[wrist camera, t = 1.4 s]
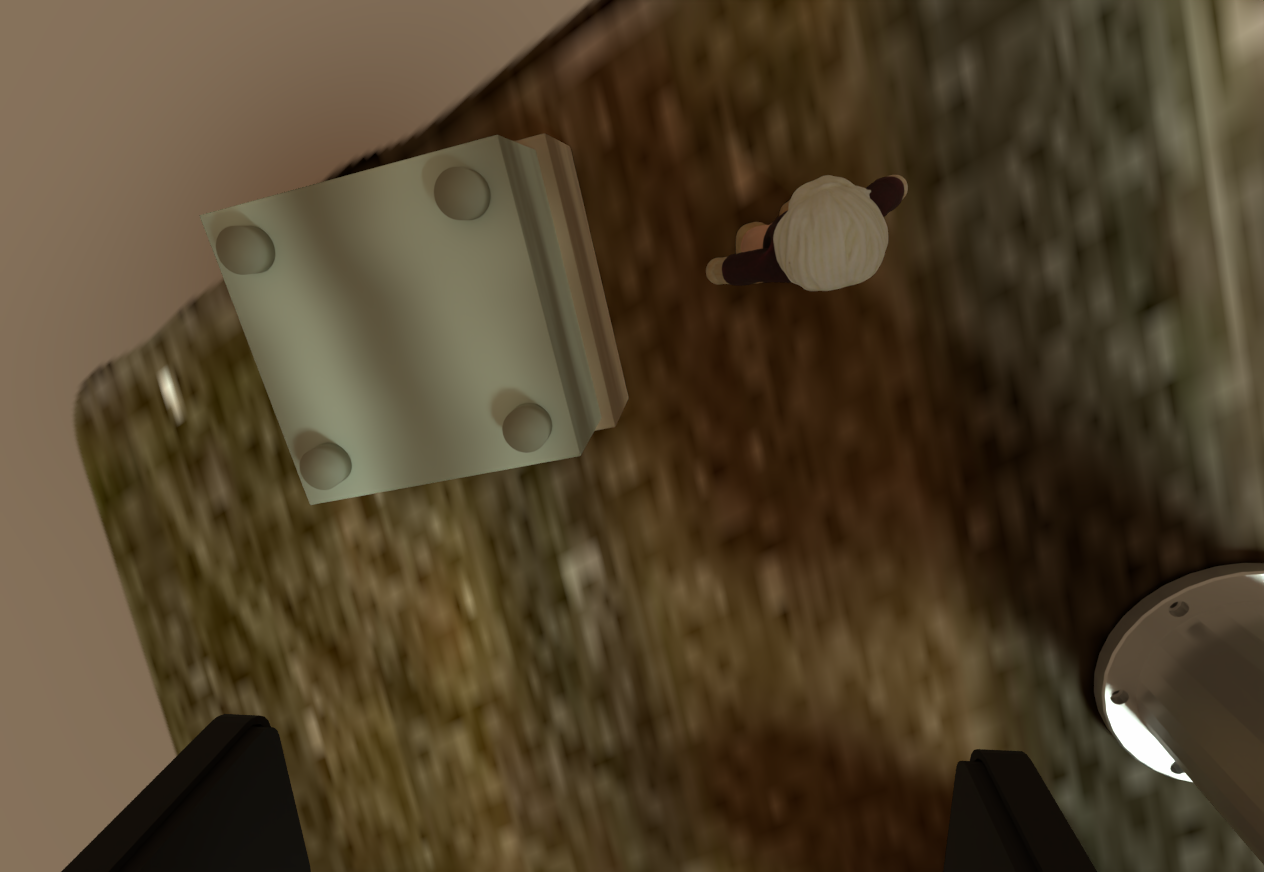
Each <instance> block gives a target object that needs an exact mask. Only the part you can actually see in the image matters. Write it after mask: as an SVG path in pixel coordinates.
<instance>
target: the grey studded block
mask: <svg viewBox="0 0 1264 872" xmlns="http://www.w3.org/2000/svg"><path fill="white" fill-rule="evenodd" d="M200 218H201V221H202V223H203V226H204V229H205V231H206V234H207V236H208V239H209V242H210V244H211V247H212V249H213V252H214V255H215V257H216V260H217V263H218V265H219V268H220V270H221V273H222V276H223V278H224V281H225V283H226V286H227V289H228V291H229V294H230V297H231V299H232V302H233V304H234V307H235V310H236V312H237V315H238V317H239V320H240V323H241V325H242V328H243V331H244V333H245V336H246V338H247V341H248V344H249V346H250V349H251V351H252V354H253V357H254V359H255V362H256V364H257V367H258V370H259V372H260V375H261V378H262V380H263V383H264V385H265V388H266V391H267V393H268V396H269V398H270V401H271V404H272V406H273V409H274V411H275V414H276V417H277V419H278V422H279V425H280V427H281V430H282V432H283V435H284V438H285V440H286V443H287V445H288V448H289V451H290V453H291V456H292V459H293V461H294V464H295V466H296V469H297V472H298V474H299V477H300V479H301V482H302V485H303V487H304V490H305V492H306V495H307V498H308V500H309V503H310V505H313V504H318V503H324V502H329V501H335V500H340V499H346V498H351V497H357V496H362V495H368V494H373V493H379V492H384V491H390V490H395V489H401V488H406V487H412V486H417V485H423V484H428V483H434V482H439V481H445V480H450V479H456V478H461V477H467V476H473V475H478V474H484V473H489V472H495V471H500V470H506V469H511V468H517V467H522V466H528V465H533V464H539V463H544V462H550V461H555V460H561V459H566V458H572V457H577V456H581V454H582V452H583V450H584V449H585V447H586V445H587V443H588V441H589V440H590V438H591V436H592V434H593V432H594V431H595V430H601V429H606V428H611V427H615V426H616V424H617V422H618V420H619V418H620V416H621V414H622V411H623V409H624V407H625V405H626V403H627V401H628V399H629V397H628V393H627V389H626V384H625V380H624V376H623V371H622V367H621V363H620V359H619V354H618V350H617V346H616V341H615V337H614V333H613V328H612V324H611V320H610V316H609V311H608V307H607V303H606V298H605V294H604V290H603V285H602V281H601V277H600V273H599V268H598V264H597V260H596V255H595V251H594V247H593V242H592V238H591V234H590V230H589V225H588V221H587V217H586V212H585V208H584V204H583V199H582V195H581V191H580V186H579V182H578V178H577V174H576V169H575V165H574V161H573V156H572V152H571V148H570V146H568V145H566V144H564V143H563V142H561V141H559V140H557V139H555V138H553V137H551V136H549V135H547V134H545V133H543V134H540V135H536V136H532V137H528V138H525V139H521V140H517V141H512V140H509V139H507V138H504V137H502V136H499V135H494V136H491V137H487V138H483V139H479V140H476V141H472V142H468V143H465V144H461V145H457V146H454V147H450V148H446V149H443V150H439V151H435V152H432V153H428V154H424V155H420V156H417V157H413V158H409V159H406V160H402V161H398V162H395V163H391V164H387V165H384V166H380V167H376V168H372V169H369V170H365V171H361V172H358V173H354V174H350V175H347V176H343V177H339V178H336V179H332V180H328V181H325V182H321V183H317V184H313V185H310V186H306V187H302V188H299V189H295V190H291V191H288V192H284V193H280V194H277V195H273V196H269V197H266V198H262V199H258V200H255V201H251V202H247V203H243V204H240V205H236V206H233V207H229V208H225V209H221V210H218V211H214V212H210V213H206V214H203V215H200Z"/></svg>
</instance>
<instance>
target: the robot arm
mask: <svg viewBox="0 0 1264 872" xmlns="http://www.w3.org/2000/svg"><path fill="white" fill-rule="evenodd" d="M1094 695H1095V700H1096V704H1097V708H1098V711H1099V713H1100V715H1101V717H1102V719H1103V721H1104V723H1105V725H1106V727H1107V728H1108V730H1109V731H1110V732H1111V733H1112V735H1113V736H1114V737H1115V738H1116V740H1117V741H1118V742H1119V744H1120V745H1121V746H1122V747H1123V748H1124V749H1125V750H1126V751H1127V752H1128V753H1129V754H1130V755H1131V756H1133V757H1134V758H1135V759H1136V760H1137V761H1139V762H1141V763H1142V764H1144V765H1146V766H1147V767H1149V768H1151V769H1152V770H1154V771H1156V772H1159V773H1161V774H1164V775H1166V776H1168V777H1171V778H1174V779H1179V780H1184V781H1189V782H1193V783H1194V784H1195V785H1196V786H1197V787H1198V789H1199V790H1200V791H1201V792H1202V793H1203V794H1204V796H1205V797H1206V798H1207V799H1208V800H1209V801H1210V803H1211V804H1212V805H1213V806H1214V807H1215V808H1216V810H1217V811H1218V812H1219V813H1220V814H1221V815H1222V817H1223V818H1224V819H1225V820H1226V821H1227V822H1228V824H1229V825H1230V826H1231V827H1232V828H1233V829H1234V831H1235V832H1236V833H1237V834H1238V835H1239V836H1240V838H1241V839H1242V840H1243V841H1244V842H1245V843H1246V845H1247V846H1248V847H1249V848H1250V849H1251V850H1252V852H1253V853H1254V854H1255V855H1256V856H1257V857H1258V859H1259V860H1260V861H1261V862H1262V863H1263V864H1264V563H1238V564H1230V565H1222V566H1215V567H1212V568H1208V569H1205V570H1201V571H1198V572H1194V573H1191V574H1188V575H1186V576H1183V577H1181V578H1179V579H1177V580H1174V581H1172V582H1170V583H1168V584H1165V585H1164V586H1162V587H1160V588H1159V589H1157V590H1156V591H1154V592H1153V593H1151V594H1150V595H1148V596H1146V597H1145V598H1143V599H1142V600H1141V601H1140V602H1139V603H1137V604H1136V605H1135V606H1134V607H1133V608H1132V609H1131V610H1130V611H1128V612H1127V613H1126V614H1125V615H1124V616H1123V617H1122V619H1121V620H1120V621H1119V622H1118V624H1117V625H1116V626H1115V627H1114V629H1113V630H1112V631H1111V633H1110V634H1109V636H1108V638H1107V639H1106V641H1105V643H1104V645H1103V647H1102V649H1101V651H1100V653H1099V657H1098V661H1097V664H1096V668H1095V672H1094ZM62 872H311V871H310V864H309V860H308V855H307V851H306V847H305V843H304V839H303V834H302V830H301V826H300V822H299V817H298V813H297V809H296V805H295V800H294V796H293V792H292V788H291V784H290V779H289V775H288V771H287V767H286V762H285V758H284V754H283V750H282V745H281V741H280V737H279V734H278V731H277V730H276V729H275V728H273V727H271V726H270V724H269V721H268V720H267V719H266V718H265V717H263V716H255V715H233V714H224V715H221V716H218V717H217V718H215V719H214V720H213V721H212V722H211V723H210V724H209V725H208V726H207V727H206V728H205V729H204V730H203V731H202V732H201V733H200V734H199V735H198V736H197V737H196V738H195V739H194V740H193V741H192V742H191V743H190V744H189V745H188V746H187V747H186V748H185V749H184V750H183V751H182V752H181V753H180V754H179V755H178V756H177V757H176V758H175V759H174V760H173V761H172V762H171V763H170V764H169V765H168V766H167V767H166V768H165V769H164V770H163V771H162V772H161V773H160V774H159V775H158V776H157V777H156V778H155V779H154V780H153V781H152V782H151V783H150V784H149V785H148V786H147V787H146V788H145V789H144V790H143V791H142V792H141V793H140V794H139V795H138V796H137V797H136V798H135V799H134V800H133V801H132V802H131V803H130V804H129V805H128V806H127V807H126V808H125V809H124V810H123V811H122V812H121V813H120V814H119V815H118V816H117V817H116V818H115V819H114V820H113V821H112V822H111V823H110V824H109V825H108V826H107V827H106V828H105V829H104V830H103V831H102V832H101V833H100V834H99V835H98V836H97V837H96V838H95V839H94V840H93V841H92V842H91V843H90V844H89V845H88V846H87V847H86V848H85V849H84V850H83V851H82V852H81V853H80V854H79V855H78V856H77V857H76V858H75V859H74V860H73V861H72V862H71V863H70V864H69V865H68V866H67V867H66V868H65V869H64V870H63V871H62ZM943 872H1097V871H1096V869H1095V868H1094V866H1093V864H1092V863H1091V861H1090V859H1089V857H1088V856H1087V854H1086V852H1085V851H1084V849H1083V847H1082V846H1081V844H1080V842H1079V841H1078V839H1077V837H1076V835H1075V834H1074V832H1073V830H1072V829H1071V827H1070V825H1069V824H1068V822H1067V820H1066V819H1065V817H1064V815H1063V813H1062V812H1061V810H1060V808H1059V807H1058V805H1057V803H1056V802H1055V800H1054V798H1053V797H1052V795H1051V793H1050V791H1049V790H1048V788H1047V786H1046V785H1045V783H1044V781H1043V780H1042V778H1041V776H1040V775H1039V773H1038V771H1037V769H1036V768H1035V766H1034V764H1033V763H1032V761H1031V760H1030V758H1029V757H1028V756H1027V754H1025V753H1024V752H1022V751H1002V750H980V749H977V750H974V751H973V753H972V754H971V758H970V761H959V762H958V764H957V768H956V774H955V782H954V791H953V799H952V807H951V815H950V823H949V831H948V839H947V847H946V855H945V863H944V871H943Z"/></svg>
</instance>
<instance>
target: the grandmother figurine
mask: <svg viewBox="0 0 1264 872" xmlns="http://www.w3.org/2000/svg"><path fill="white" fill-rule="evenodd" d="M907 190H908V185H907V182H906V180H905V179H904V178H903V177H902V176H900V175H890V176H887V177H882V178H880V179H877V180H876V181H875V182H873V183H872V184H870V185H869V186H868V187H866V188H863V187H859V186H855V185H854V184H853V183H851V182H850V181H848V180H847V179H845V178H842V177H835V176H832V175H825V176H822V177H820V178H818V179H816V180H814V181H811V182H807V183H806V184H804V185H802V186H800V187H799V188H798V189H796V191H795V192H794V193H793V195H792V197H791V199H790V200H789V201H787V202H786V203H785V204H784V205H783V206H782V207H781V209H780V212H779V217H778V218H776V219H775V220H774V221H773V222H772V223H771V224H770V225H766V224H764V223H762V222H752V223H748V224H745V225H743V226H742V227H741V228H740V229H739V230H738V232H737V235H736V254H732V255H730V256H728V257H723V258H721V257H719V258H714V259H712V260H711V261H710V262H709V263H708V265H707V267H706V276H707V278H708V279H709V280H710V282H712V283H714V284H731V285H738V286H739V285H749V284H758V283H763V282H765V283H767V282H787V283H789V282H792V283H795V284H797V285H800V286H801V287H802V288H804V289H805V290H808V291H830V290H835V289H840V288H843V287H847V286H851V285H855V284H858V283H861V282H864V281H865V280H867V279H869V278H870V277H872V276H873V275H874V274H875V273H876V271H877V270H878V268H879V266H880V265H881V263H882V261H883V258H884V255H885V251H886V248H887V245H888V227H887V225H886V222H885V219H884V216H886V215H887V214H888V213H889V212H890V211H892V210H893V209H895V208H896V207H897V206H898V205H899V204H900V202H901V201H902V199H903V198H904V197H905V196H906V194H907Z"/></svg>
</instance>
